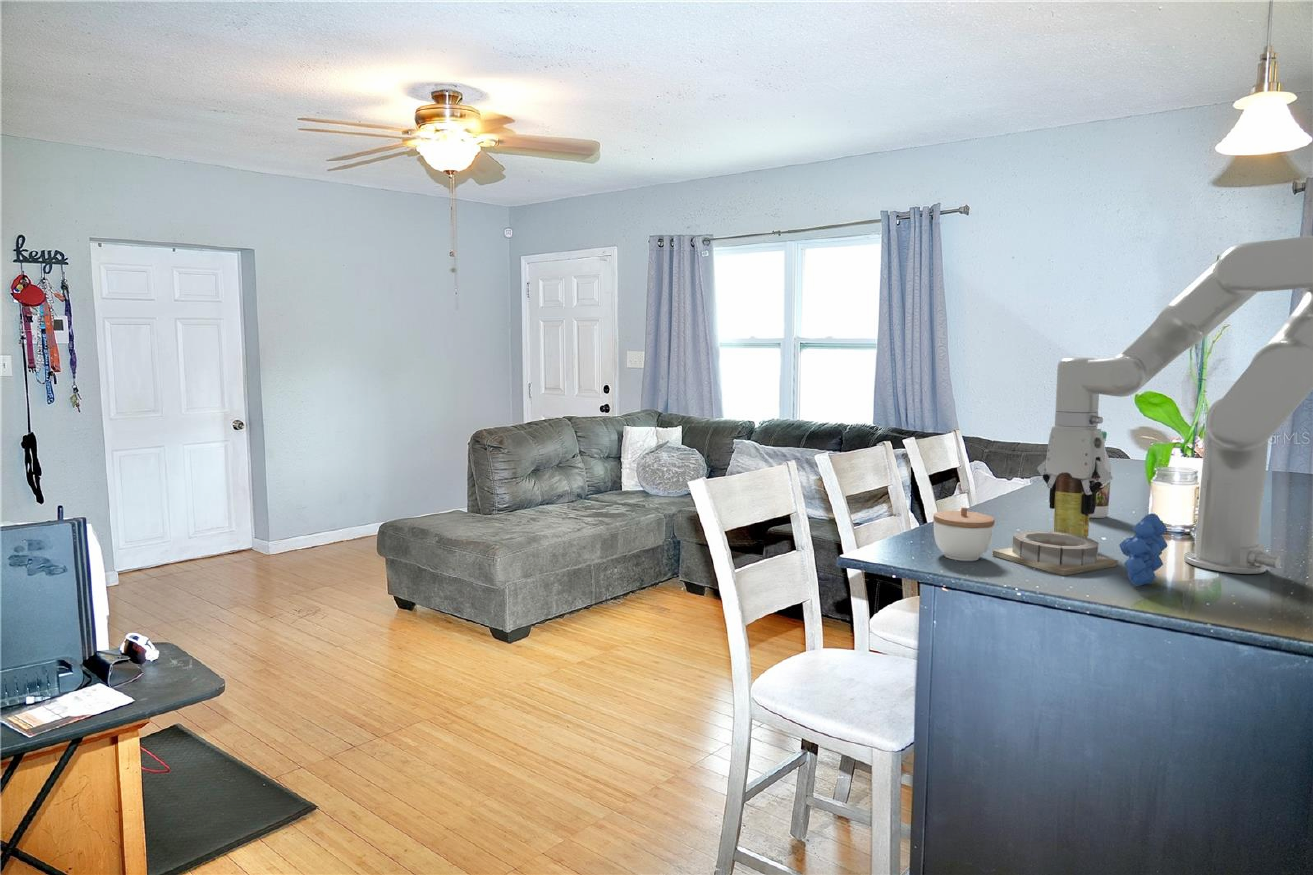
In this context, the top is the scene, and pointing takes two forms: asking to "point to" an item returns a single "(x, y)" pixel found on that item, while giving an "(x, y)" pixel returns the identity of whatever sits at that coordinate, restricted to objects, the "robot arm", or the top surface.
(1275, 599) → the top surface
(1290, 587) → the top surface
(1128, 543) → the grapes
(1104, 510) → the milk bottle
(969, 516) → the lidded jar
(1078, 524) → the sauce bottle
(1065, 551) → the collar board
